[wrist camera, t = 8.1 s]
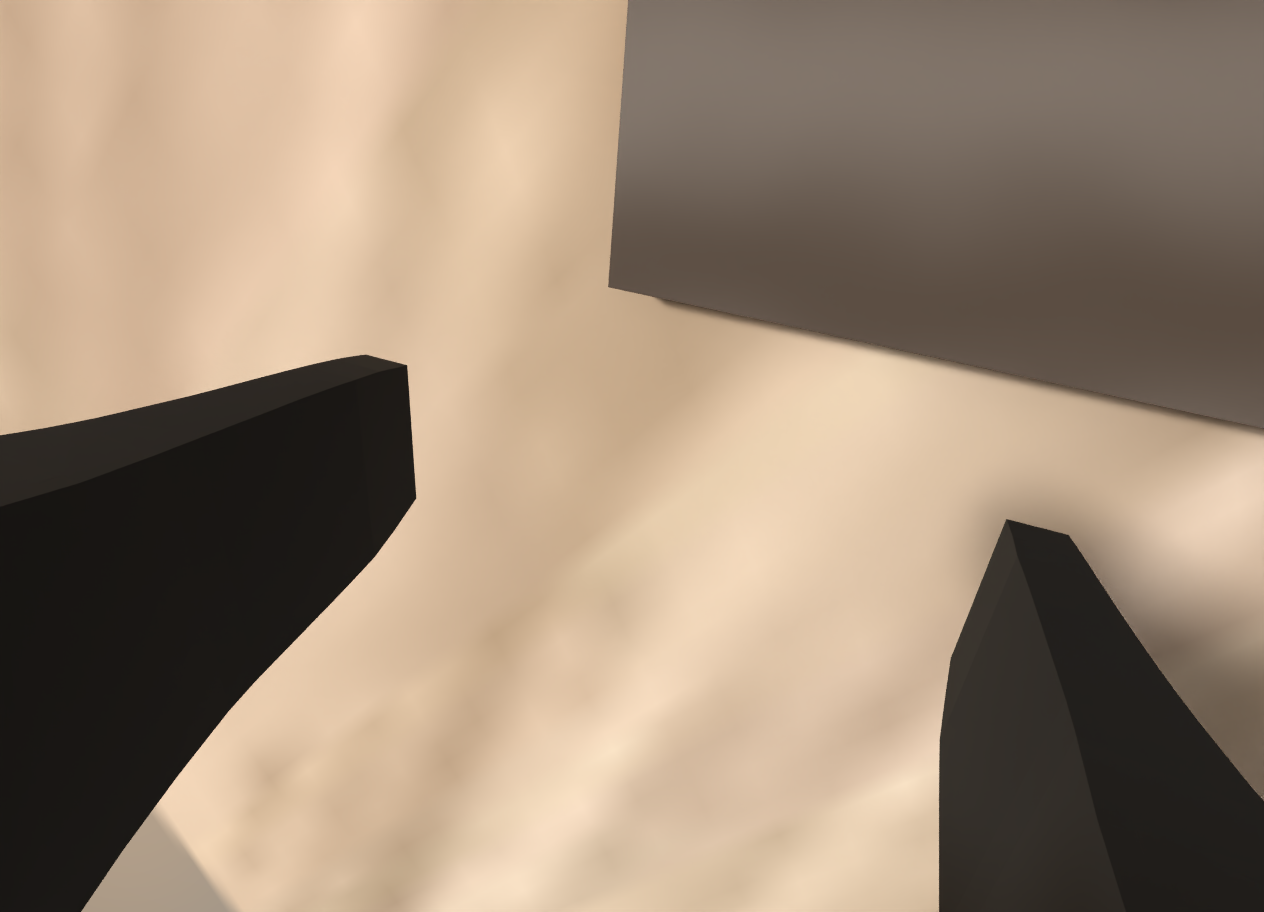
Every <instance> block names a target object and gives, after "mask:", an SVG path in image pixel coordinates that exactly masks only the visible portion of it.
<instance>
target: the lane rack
mask: <svg viewBox="0 0 1264 912" xmlns="http://www.w3.org/2000/svg"><path fill="white" fill-rule="evenodd" d="M608 287H610V288H615V289H620V290H624V291H629V292H634V293H638V294H643V295H647V296H652V297H657V298H661V299H666V300H671V301H675V302H680V303H685V304H689V305H694V306H698V307H703V308H708V309H712V310H717V311H722V312H726V313H731V314H736V315H740V316H745V317H749V318H754V319H759V320H763V321H768V322H773V323H777V324H782V325H787V326H791V327H796V328H800V329H805V330H810V331H814V332H819V333H824V334H828V335H833V336H837V337H842V338H847V339H851V340H856V341H861V342H865V343H870V344H875V345H879V346H884V347H888V348H893V349H898V350H902V351H907V352H912V353H916V354H921V355H926V356H930V357H935V358H939V359H944V360H949V361H953V362H958V363H963V364H967V365H972V366H977V367H981V368H986V369H990V370H995V371H1000V372H1004V373H1009V374H1014V375H1018V376H1023V377H1027V378H1032V379H1037V380H1041V381H1046V382H1051V383H1055V384H1060V385H1065V386H1069V387H1074V388H1078V389H1083V390H1088V391H1092V392H1097V393H1102V394H1106V395H1111V396H1116V397H1120V398H1125V399H1129V400H1134V401H1139V402H1143V403H1148V404H1153V405H1157V406H1162V407H1167V408H1171V409H1176V410H1180V411H1185V412H1190V413H1194V414H1199V415H1204V416H1208V417H1213V418H1217V419H1222V420H1227V421H1231V422H1236V423H1241V424H1245V425H1250V426H1255V427H1259V428H1264V0H628V12H627V26H626V40H625V55H624V69H623V84H622V98H621V112H620V127H619V141H618V155H617V170H616V184H615V198H614V213H613V227H612V242H611V256H610V270H609V285H608Z"/></svg>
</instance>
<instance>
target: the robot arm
mask: <svg viewBox="0 0 1264 912" xmlns="http://www.w3.org/2000/svg"><path fill="white" fill-rule="evenodd" d="M415 499H416V488H415V473H414V459H413V444H412V430H411V415H410V400H409V386H408V371H407V365H404V364H400V363H396V362H392V361H388V360H384V359H380V358H377V357H373V356H369V355H360V356H353V357H346V358H340V359H335V360H331V361H326V362H321V363H317V364H313V365H308V366H304V367H300V368H296V369H292V370H288V371H284V372H281V373H277V374H273V375H269V376H265V377H261V378H258V379H254V380H250V381H246V382H242V383H238V384H235V385H231V386H227V387H223V388H219V389H216V390H212V391H208V392H204V393H200V394H197V395H193V396H189V397H184V398H180V399H176V400H172V401H167V402H163V403H159V404H155V405H150V406H146V407H142V408H137V409H133V410H129V411H125V412H120V413H116V414H112V415H108V416H103V417H99V418H94V419H89V420H85V421H80V422H75V423H70V424H64V425H59V426H54V427H48V428H43V429H37V430H31V431H25V432H19V433H12V434H6V435H0V912H81V911H82V909H83V908H84V906H85V905H86V903H87V902H88V901H89V899H90V898H91V896H92V895H93V893H94V892H95V890H96V889H97V888H98V886H99V885H100V883H101V882H102V880H103V879H104V877H105V876H106V874H107V872H108V871H109V870H110V868H111V867H112V866H113V864H114V862H115V861H116V860H117V858H118V857H119V855H120V854H121V852H122V851H123V849H124V848H125V847H126V845H127V844H128V843H129V841H130V840H131V838H132V837H133V836H134V834H135V833H136V832H137V830H138V829H139V828H140V826H141V825H142V824H143V822H144V821H145V819H146V818H147V817H148V815H149V814H150V813H151V811H152V810H153V809H154V807H155V806H156V805H157V803H158V802H159V800H160V799H161V798H162V796H163V795H164V794H165V792H166V791H167V790H168V788H169V787H170V786H171V784H172V783H173V781H174V780H175V779H176V777H177V776H178V775H179V774H180V772H181V771H182V770H183V768H184V767H185V766H186V765H187V763H188V762H189V761H190V760H191V758H192V757H193V756H194V754H195V753H196V752H197V751H198V749H199V748H200V747H201V746H202V744H203V743H204V742H205V740H206V739H207V738H208V737H209V735H210V734H211V733H212V732H213V730H214V729H215V728H216V726H217V725H218V724H219V723H220V721H221V720H222V719H223V718H224V716H225V715H226V714H227V713H228V711H229V710H230V709H231V708H232V707H233V706H234V705H235V703H236V702H237V701H238V700H239V699H240V698H241V697H242V696H243V694H244V693H245V692H246V691H247V690H248V689H249V688H250V687H251V685H252V684H253V683H254V682H255V681H256V680H257V679H258V678H259V677H260V676H261V675H262V674H263V673H264V672H265V671H266V670H267V669H268V668H269V667H270V666H271V665H272V664H273V662H274V661H275V660H276V659H277V658H278V657H279V656H280V655H281V654H282V653H283V652H284V651H285V650H286V649H287V648H288V647H289V646H290V645H291V644H292V643H293V642H294V641H295V640H296V639H297V638H298V637H299V636H300V635H301V634H302V633H303V632H304V631H305V630H306V628H307V627H308V626H309V625H310V624H311V623H312V622H313V621H314V620H315V619H316V618H317V617H318V616H319V615H320V614H321V613H322V612H323V611H324V610H325V609H326V608H327V607H328V606H329V605H330V604H331V603H332V602H333V601H334V600H335V599H336V598H337V596H338V595H339V594H340V593H341V592H342V591H343V590H344V589H345V588H346V587H347V586H348V585H349V584H350V583H351V582H352V581H353V580H354V579H355V578H356V576H357V575H358V574H359V573H360V572H361V571H362V570H363V569H364V568H365V567H366V566H367V565H368V564H369V562H370V561H371V560H372V559H373V558H374V557H375V556H376V554H377V553H378V552H379V550H380V549H381V548H382V546H383V545H384V544H385V542H386V541H387V540H388V538H389V537H390V536H391V534H392V533H393V532H394V530H395V529H396V527H397V526H398V524H399V523H400V521H401V520H402V518H403V517H404V515H405V514H406V512H407V511H408V510H409V508H410V507H411V505H412V504H413V502H414V501H415ZM939 912H1264V801H1263V800H1262V799H1261V798H1260V796H1259V795H1258V794H1257V793H1256V792H1255V791H1254V790H1253V788H1252V787H1251V786H1250V785H1249V784H1248V782H1247V781H1246V780H1245V779H1244V778H1243V776H1242V775H1241V774H1240V773H1239V771H1238V770H1237V769H1236V768H1235V766H1234V765H1233V764H1232V763H1231V762H1230V760H1229V759H1228V758H1227V757H1226V755H1225V754H1224V753H1223V752H1222V750H1221V749H1220V748H1219V747H1218V745H1217V744H1216V743H1215V742H1214V740H1213V739H1212V738H1211V737H1210V735H1209V734H1208V733H1207V732H1206V730H1205V729H1204V728H1203V727H1202V725H1201V724H1200V723H1199V722H1198V721H1197V719H1196V718H1195V717H1194V715H1193V714H1192V713H1191V711H1190V710H1189V709H1188V707H1187V706H1186V705H1185V703H1184V702H1183V701H1182V699H1181V698H1180V697H1179V695H1178V694H1177V693H1176V691H1175V690H1174V689H1173V687H1172V686H1171V685H1170V683H1169V682H1168V681H1167V679H1166V678H1165V676H1164V675H1163V674H1162V672H1161V671H1160V670H1159V668H1158V667H1157V665H1156V664H1155V663H1154V661H1153V660H1152V658H1151V657H1150V655H1149V654H1148V653H1147V651H1146V650H1145V648H1144V647H1143V646H1142V644H1141V643H1140V641H1139V640H1138V638H1137V637H1136V635H1135V634H1134V632H1133V631H1132V630H1131V628H1130V627H1129V625H1128V624H1127V622H1126V621H1125V619H1124V618H1123V616H1122V615H1121V613H1120V612H1119V610H1118V609H1117V607H1116V606H1115V604H1114V603H1113V601H1112V600H1111V598H1110V597H1109V595H1108V594H1107V592H1106V591H1105V589H1104V588H1103V586H1102V585H1101V583H1100V582H1099V580H1098V578H1097V577H1096V575H1095V574H1094V572H1093V571H1092V569H1091V568H1090V566H1089V565H1088V563H1087V562H1086V560H1085V559H1084V557H1083V556H1082V554H1081V552H1080V551H1079V550H1078V548H1077V547H1076V545H1075V544H1074V542H1073V541H1072V539H1071V538H1070V537H1069V535H1066V534H1062V533H1058V532H1054V531H1051V530H1047V529H1043V528H1039V527H1035V526H1031V525H1027V524H1023V523H1019V522H1015V521H1012V520H1008V519H1006V522H1005V524H1004V527H1003V529H1002V532H1001V534H1000V537H999V539H998V542H997V544H996V547H995V549H994V552H993V554H992V557H991V559H990V562H989V564H988V567H987V569H986V572H985V574H984V577H983V579H982V582H981V584H980V587H979V589H978V592H977V594H976V597H975V599H974V602H973V604H972V607H971V609H970V612H969V614H968V617H967V619H966V622H965V624H964V627H963V629H962V632H961V634H960V637H959V639H958V642H957V644H956V647H955V649H954V652H953V654H952V657H951V661H950V668H949V675H948V682H947V689H946V696H945V703H944V711H943V719H942V727H941V734H940V761H939Z"/></svg>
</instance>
